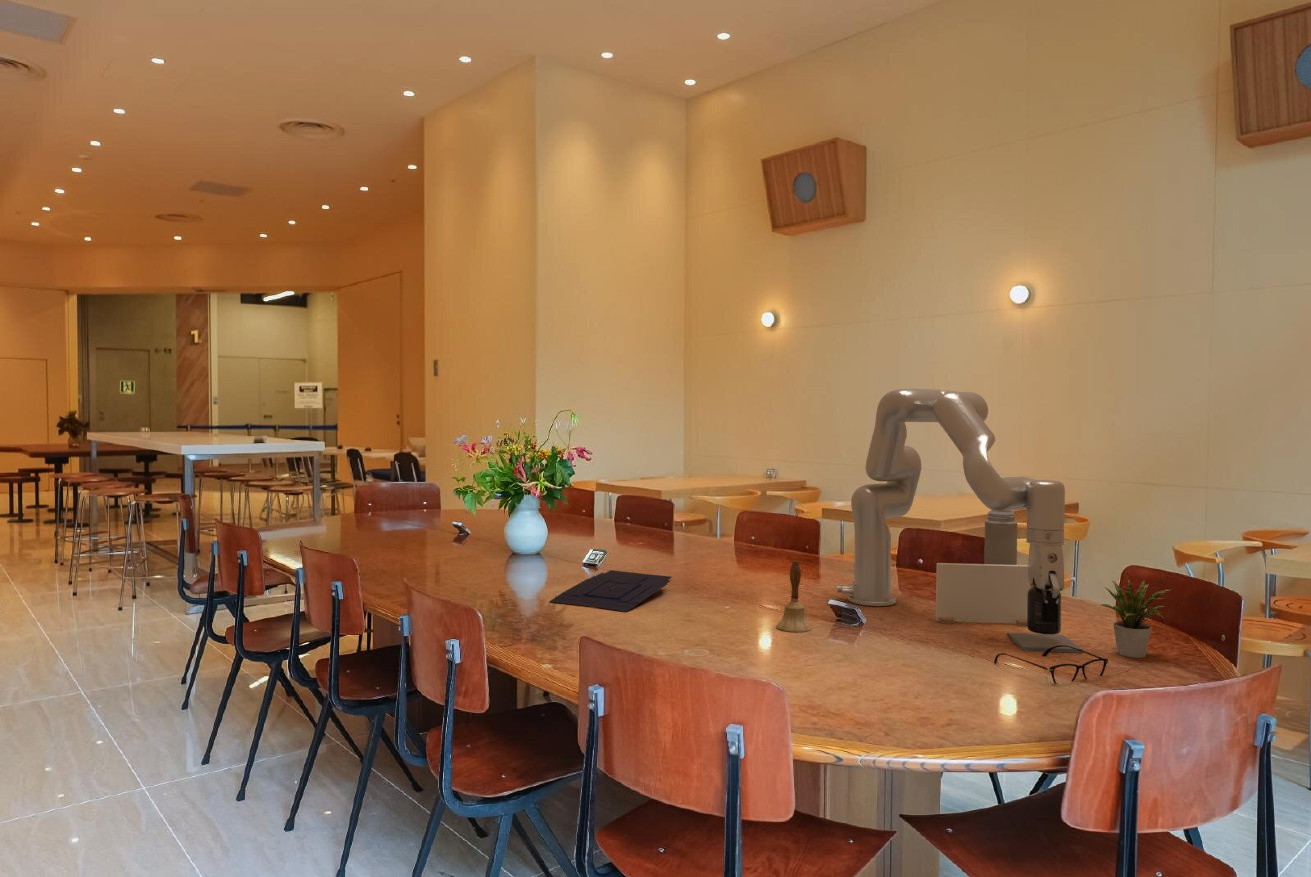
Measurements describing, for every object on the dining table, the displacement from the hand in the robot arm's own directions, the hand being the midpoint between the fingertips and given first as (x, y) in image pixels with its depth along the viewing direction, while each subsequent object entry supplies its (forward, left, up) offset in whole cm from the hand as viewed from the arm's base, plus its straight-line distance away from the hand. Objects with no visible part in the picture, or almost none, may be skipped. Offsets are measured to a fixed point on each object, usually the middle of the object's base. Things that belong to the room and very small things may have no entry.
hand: (1043, 616), depth 187 cm
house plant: (+16, -7, -6) cm, 19 cm away
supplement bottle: (0, 0, -3) cm, 3 cm away
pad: (0, 0, -6) cm, 6 cm away
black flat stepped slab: (-102, +35, -7) cm, 107 cm away
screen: (-8, +19, -6) cm, 22 cm away
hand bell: (-54, +7, -6) cm, 55 cm away
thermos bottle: (+1, +38, -6) cm, 39 cm away
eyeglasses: (-5, -19, -7) cm, 21 cm away
